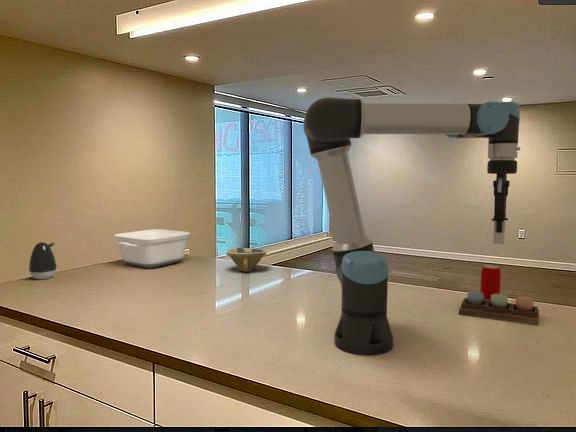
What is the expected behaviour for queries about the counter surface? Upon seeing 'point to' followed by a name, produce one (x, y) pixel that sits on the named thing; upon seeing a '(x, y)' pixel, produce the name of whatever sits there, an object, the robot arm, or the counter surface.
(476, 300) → the slate button
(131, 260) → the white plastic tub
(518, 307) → the terracotta button
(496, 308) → the panel
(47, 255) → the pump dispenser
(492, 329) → the counter surface
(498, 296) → the sage button
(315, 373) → the counter surface
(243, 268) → the bowl
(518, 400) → the counter surface
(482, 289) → the beverage can
